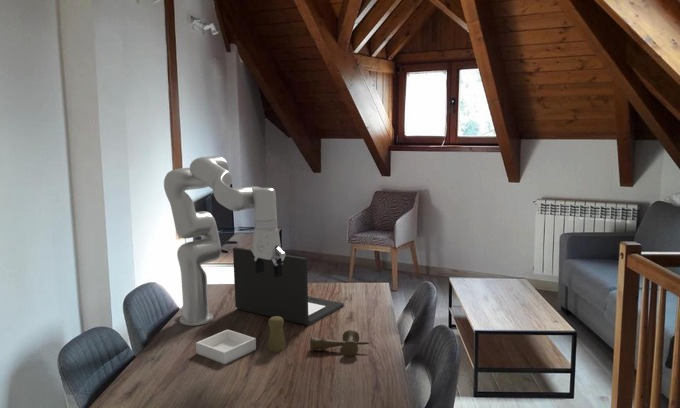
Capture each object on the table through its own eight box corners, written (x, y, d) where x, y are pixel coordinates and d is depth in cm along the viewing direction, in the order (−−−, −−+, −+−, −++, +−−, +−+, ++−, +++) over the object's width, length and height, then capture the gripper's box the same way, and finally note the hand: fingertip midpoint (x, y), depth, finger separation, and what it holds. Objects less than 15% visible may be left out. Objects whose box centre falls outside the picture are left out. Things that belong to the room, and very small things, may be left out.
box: (196, 353, 179) (196, 342, 178) (228, 339, 190) (227, 329, 189) (224, 364, 170) (224, 352, 170) (256, 349, 182) (255, 338, 181)
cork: (282, 352, 179) (281, 321, 177) (265, 350, 180) (264, 320, 179) (287, 344, 185) (287, 314, 183) (271, 343, 186) (270, 313, 184)
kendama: (312, 346, 185) (369, 345, 184) (309, 358, 176) (369, 358, 175) (311, 329, 184) (369, 328, 183) (308, 341, 175) (369, 341, 174)
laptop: (344, 306, 224) (343, 244, 219) (306, 327, 201) (305, 259, 197) (275, 292, 243) (273, 235, 239) (234, 310, 221) (232, 247, 217)
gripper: (241, 224, 182) (244, 272, 184) (273, 228, 170) (276, 280, 172) (259, 221, 187) (262, 268, 189) (291, 225, 175) (294, 275, 177)
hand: (269, 274), depth 180 cm, fingers open, 9 cm apart
